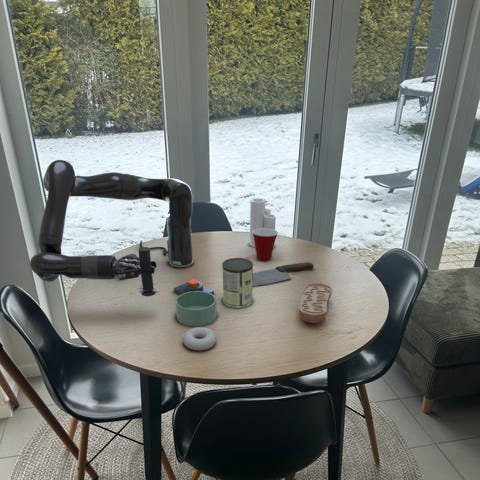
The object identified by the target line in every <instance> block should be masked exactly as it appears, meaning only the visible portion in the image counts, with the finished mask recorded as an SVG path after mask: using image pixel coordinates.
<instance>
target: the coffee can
mask: <svg viewBox="0 0 480 480" xmlns="http://www.w3.org/2000/svg"><path fill="white" fill-rule="evenodd" d="M221 264H222V265H221V266H222V267H221V268H222V302H223V304H224V306H225V305H226V306H227V307H229V308H236V309H241V308H246V307H248V306H250V305H251V304H252V303H253V286H252V278H253V273H254V272H253V271H254V270H253V268H254V262H253V261H252V260H251V259H248V258H245V257H244V258H243V257H232V258H227V259H225V260H223V262H222V263H221Z"/></svg>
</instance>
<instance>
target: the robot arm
mask: <svg viewBox="0 0 480 480" xmlns="http://www.w3.org/2000/svg"><path fill="white" fill-rule="evenodd" d="M42 186H43V188H44V189H45V191H46V192H47V196H46V197H47V198H46V203H45V207H44V211H43V214H42V216H41V217H42V218H41V221H40V225H39V232H38V237H37V238H38V239H37V246H38V248H39V250H40V251H39V253H36V254H34V255H33V256H32V257H31V258H30V260H29V267H30V270H31V271H32V272H33V273H34V274H36V275H37V276H38V278H39V279H41V280H42V281H44V282H47V283H51V282H54V281H57V279H58V278H60V275H61V276H64V277H65V278H68V279H73V280H74V279H76V280H77V279H78V280H79V279H85V280H115V279H116V278H117V277H118V280H119V281H124V280H128V279H129V280H130V279H131V280H132V279H137V278H140V276H141V275H142V274H152V275H153V274H155V273H156V269H157V267H158V266H157V261H156V260H151V266H142V268H141V266H140V261H139V256H137V257H135V256H129V254H126V255H127V256H126V255H125V256H126V259H121V260H119V259H117V257H116V256H115V255H114V254H89V255H67V254H62V245H63V239H64V233H65V224H66V216H67V209H68V205H69V201H70V197H72V198H73V197H88V198H89V197H90V198H99V199H111V200H117V201H130V202H131V201H139V200H145V199H153V200H160V201H164V202H167V203H169V213H168V214H167V216H166V227H167V229H166V230H167V240H166V245H167V246H166V247H167V249H166V247H164V246H153V247H149V248H150V250H157V249H158V250H159V249H161V250H164V251H163V255H164V256H165V255H167V259H168V263H169V266H171V267H173V268H175V269H177V268H178V269H184V268H185V269H186V268H188V267H191V266H193V264H194V260H193V259H194V257H193V236H192V216H193V193H192V189H191V187H190V186H189V184H187V183H186V182H183V181H182V180H179V179H176V178H153V177H146V176H142V175H137V174H131V173H125V172H116V171H115V172H114V171H110V172H103V173H97V174H93V175H77V171H76V169H75V167H74V166H73V164H71V163H70V162H68V161H67V160H63V159H55V160H53V161H52V162H50V163H49V165H48V166H47V167H46V170H45V173H44V175H43V178H42ZM141 247H143V240H140V242H139V248H141Z"/></svg>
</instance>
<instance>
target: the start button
mask: <svg viewBox="0 0 480 480" xmlns="http://www.w3.org/2000/svg"><path fill="white" fill-rule="evenodd" d="M198 281H199V280H198V279H197V278H193V279H189V280H188V281H187V282H188V286H189V287H192V288H194V287H198V286H199V283H198Z"/></svg>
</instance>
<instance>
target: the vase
mask: <svg viewBox="0 0 480 480" xmlns="http://www.w3.org/2000/svg"><path fill="white" fill-rule="evenodd" d="M249 201H250V203H249V206H250V208H249V246H250V247H253V248H255V242H254V236H253V233H252V230H254V229H259V228H267V229H273V230H276V219H277V217H276V215H275V214H271V212H272V209H271V208H266V199H265V198H262V197H253V198H250V199H249Z"/></svg>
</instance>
